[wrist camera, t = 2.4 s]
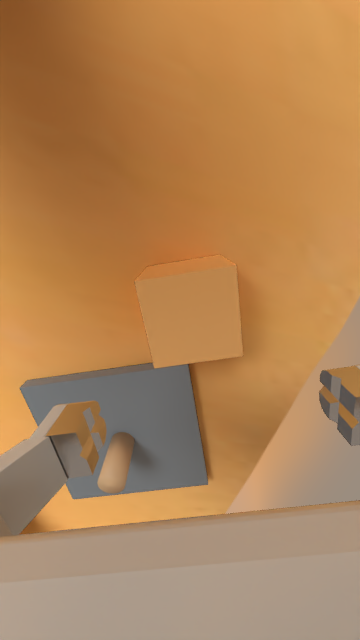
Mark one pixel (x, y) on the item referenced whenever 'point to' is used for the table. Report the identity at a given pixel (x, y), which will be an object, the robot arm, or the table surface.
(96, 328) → the table surface
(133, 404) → the slate board
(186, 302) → the orange tan cube
